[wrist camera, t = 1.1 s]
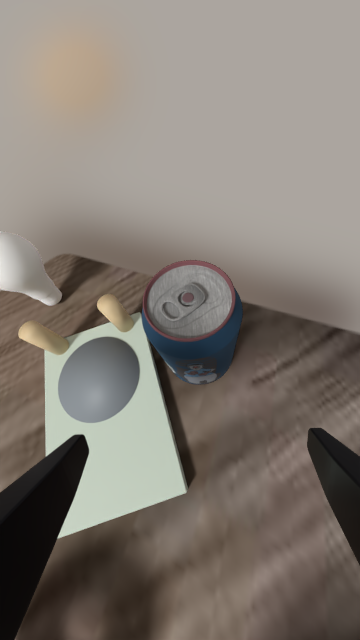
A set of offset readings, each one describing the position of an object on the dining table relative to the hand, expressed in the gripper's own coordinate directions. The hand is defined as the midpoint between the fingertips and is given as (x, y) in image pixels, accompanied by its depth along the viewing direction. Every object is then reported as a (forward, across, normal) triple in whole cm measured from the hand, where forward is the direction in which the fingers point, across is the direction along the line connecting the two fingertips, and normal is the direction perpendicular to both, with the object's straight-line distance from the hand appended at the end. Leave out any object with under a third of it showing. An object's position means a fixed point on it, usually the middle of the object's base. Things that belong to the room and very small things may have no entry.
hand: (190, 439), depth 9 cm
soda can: (+15, 0, +4) cm, 16 cm away
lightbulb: (+21, +19, -2) cm, 29 cm away
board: (+11, +10, +8) cm, 17 cm away
